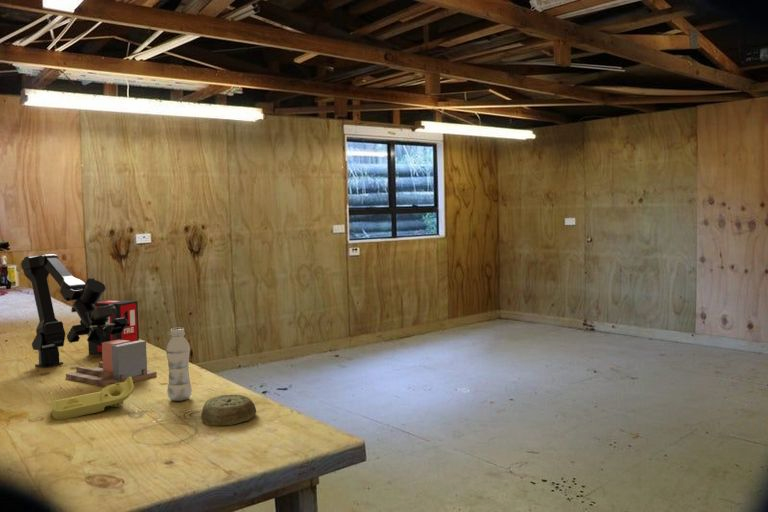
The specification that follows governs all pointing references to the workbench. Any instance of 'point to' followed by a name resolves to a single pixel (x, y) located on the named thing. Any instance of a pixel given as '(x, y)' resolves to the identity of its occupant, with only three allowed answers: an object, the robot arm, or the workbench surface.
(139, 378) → the wooden pallet
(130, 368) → the end stop
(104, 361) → the pink rectangular block
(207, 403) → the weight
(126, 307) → the cleaning product box
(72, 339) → the robot arm
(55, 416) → the plastic component
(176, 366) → the plastic bottle
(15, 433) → the workbench surface
